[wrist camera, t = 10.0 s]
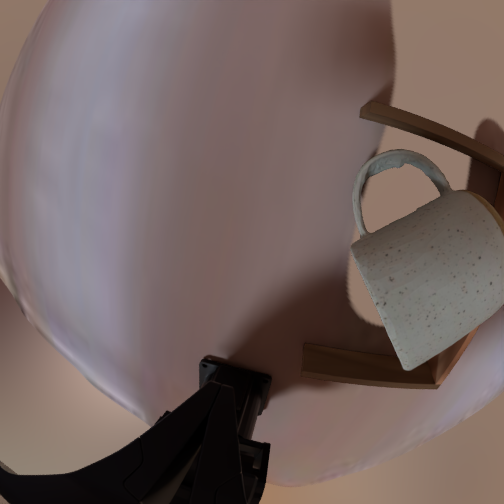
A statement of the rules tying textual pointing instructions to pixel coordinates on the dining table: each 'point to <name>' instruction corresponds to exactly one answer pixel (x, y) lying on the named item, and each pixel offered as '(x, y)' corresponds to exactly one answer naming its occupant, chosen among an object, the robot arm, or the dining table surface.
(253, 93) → the dining table surface
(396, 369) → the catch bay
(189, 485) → the robot arm
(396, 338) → the ceramic mug
